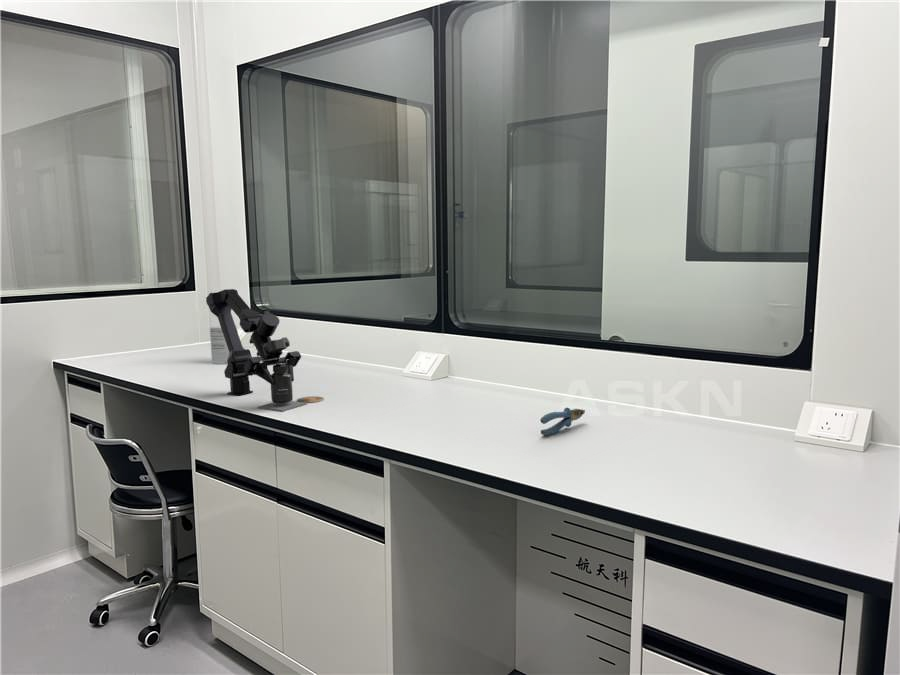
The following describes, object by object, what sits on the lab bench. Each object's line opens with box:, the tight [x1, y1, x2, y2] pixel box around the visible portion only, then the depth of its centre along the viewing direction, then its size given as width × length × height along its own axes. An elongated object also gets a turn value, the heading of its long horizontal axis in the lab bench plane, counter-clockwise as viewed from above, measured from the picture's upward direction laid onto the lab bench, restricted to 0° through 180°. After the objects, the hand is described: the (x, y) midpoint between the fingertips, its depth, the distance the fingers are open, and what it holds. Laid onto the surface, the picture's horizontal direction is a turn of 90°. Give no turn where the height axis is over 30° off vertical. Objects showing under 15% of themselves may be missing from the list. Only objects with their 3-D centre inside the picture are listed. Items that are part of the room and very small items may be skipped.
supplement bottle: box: [270, 364, 294, 403], centre depth 219 cm, size 7×7×12 cm
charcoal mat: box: [257, 400, 308, 413], centre depth 220 cm, size 11×11×1 cm
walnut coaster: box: [296, 395, 325, 404], centre depth 228 cm, size 9×9×1 cm
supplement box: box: [209, 324, 239, 365], centre depth 305 cm, size 10×9×17 cm
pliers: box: [540, 407, 586, 436], centre depth 187 cm, size 20×2×6 cm, turn 135°
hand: (283, 382), depth 218 cm, fingers closed on supplement bottle, 7 cm apart
